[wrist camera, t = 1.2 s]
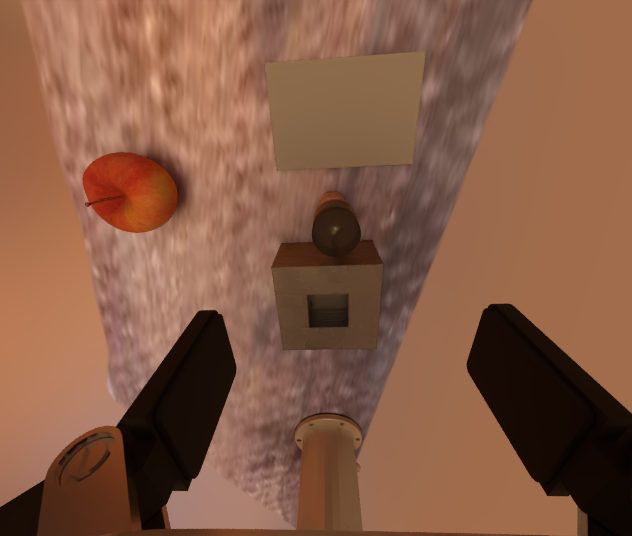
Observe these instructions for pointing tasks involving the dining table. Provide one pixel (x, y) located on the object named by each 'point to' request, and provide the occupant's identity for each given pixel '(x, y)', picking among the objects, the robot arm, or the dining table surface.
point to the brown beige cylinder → (335, 226)
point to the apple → (130, 192)
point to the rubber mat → (345, 110)
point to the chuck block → (327, 297)
